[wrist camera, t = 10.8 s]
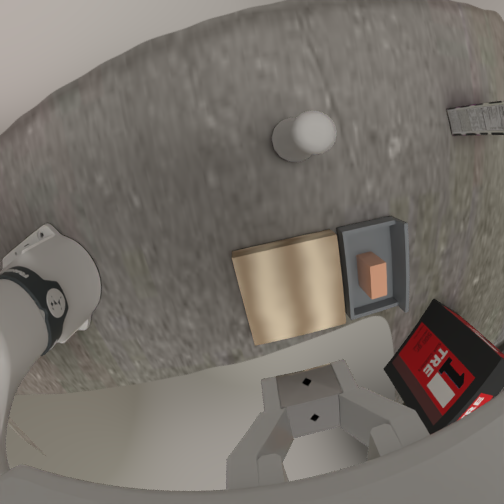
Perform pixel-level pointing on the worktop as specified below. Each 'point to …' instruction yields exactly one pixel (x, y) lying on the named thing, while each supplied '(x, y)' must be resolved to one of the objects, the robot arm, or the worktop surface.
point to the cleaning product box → (445, 368)
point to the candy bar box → (477, 119)
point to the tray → (384, 246)
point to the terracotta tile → (372, 274)
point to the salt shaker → (304, 136)
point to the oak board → (291, 286)
